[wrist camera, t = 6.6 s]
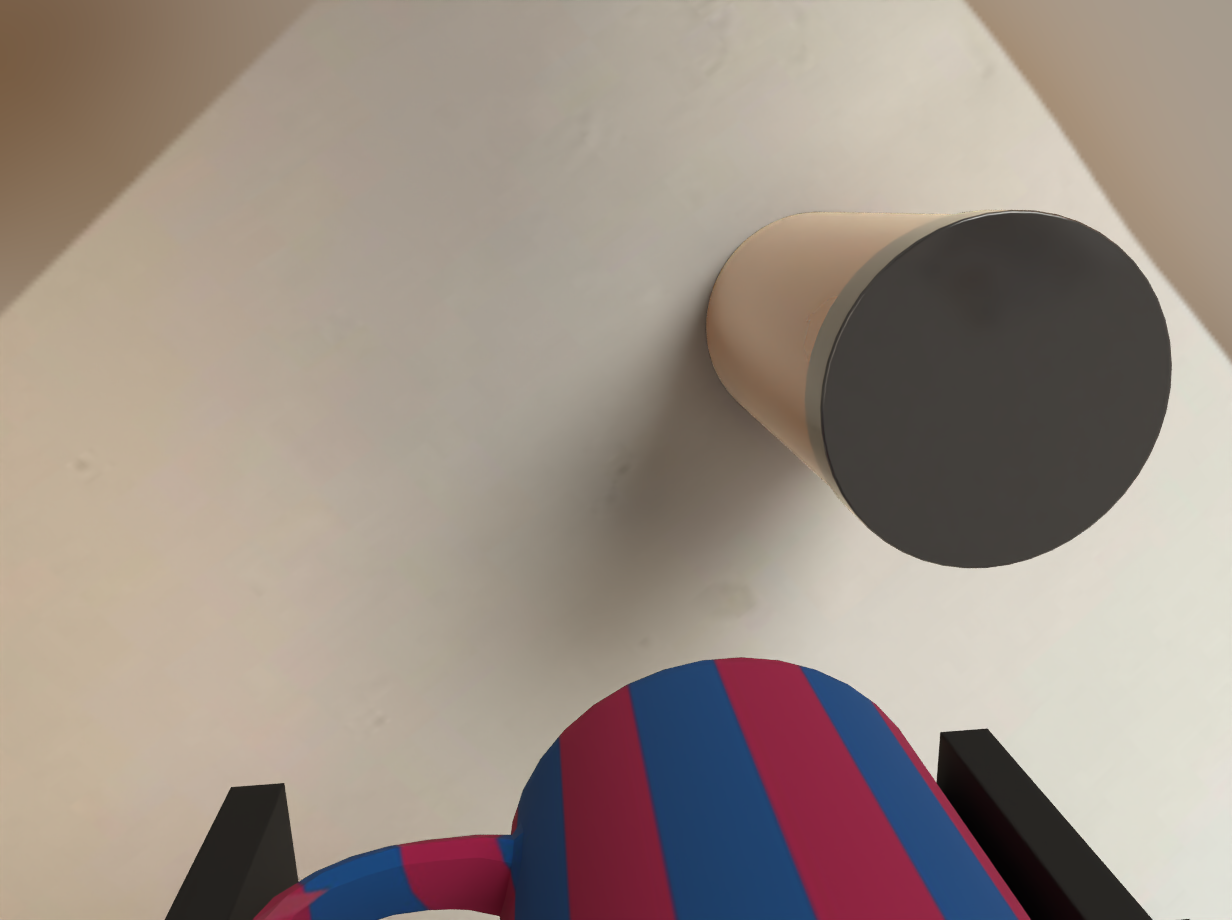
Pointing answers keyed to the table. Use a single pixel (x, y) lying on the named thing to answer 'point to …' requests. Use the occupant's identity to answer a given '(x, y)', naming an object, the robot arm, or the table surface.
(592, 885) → the mug
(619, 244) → the table surface
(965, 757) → the robot arm
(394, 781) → the table surface
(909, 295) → the jar
